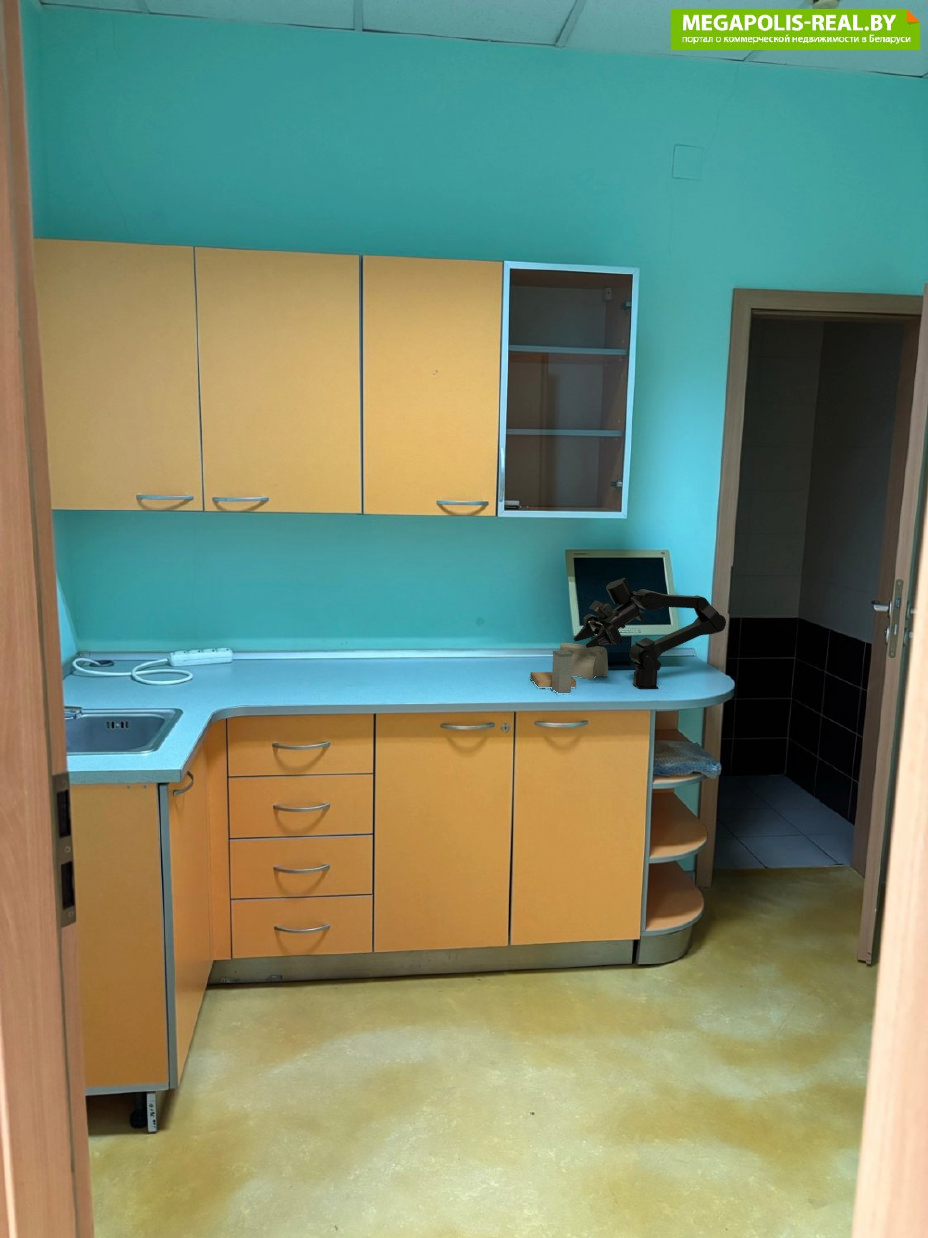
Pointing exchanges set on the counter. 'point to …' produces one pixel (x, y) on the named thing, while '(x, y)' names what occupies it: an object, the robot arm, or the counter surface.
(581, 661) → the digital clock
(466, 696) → the counter surface
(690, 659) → the counter surface
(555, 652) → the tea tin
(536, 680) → the walnut board
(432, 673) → the counter surface
